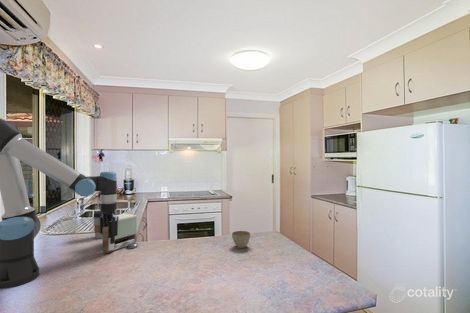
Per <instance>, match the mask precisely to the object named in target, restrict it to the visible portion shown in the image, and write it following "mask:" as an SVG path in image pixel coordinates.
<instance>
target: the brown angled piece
mask: <svg viewBox="0 0 470 313" xmlns="http://www.w3.org/2000/svg"><path fill="white" fill-rule="evenodd" d="M108 237H109V228H108V227H103V239H102V253H105V254H109V253H112V252H115V250H118V249H121V248H125V247H128V244H131V243H136V242H135V239H132V240H125V241H123V242H119V243H116V242H115V237H114V249H113V250H110V251H108Z"/></svg>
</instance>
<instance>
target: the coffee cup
mask: <svg viewBox="0 0 470 313" xmlns="http://www.w3.org/2000/svg"><path fill="white" fill-rule="evenodd" d="M102 212H103V211H100V210H99V211H96V212H93V227H94V229H93V230H94V237H95V239H97V240H103V235H102V233H100V218H99V214H102Z"/></svg>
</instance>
